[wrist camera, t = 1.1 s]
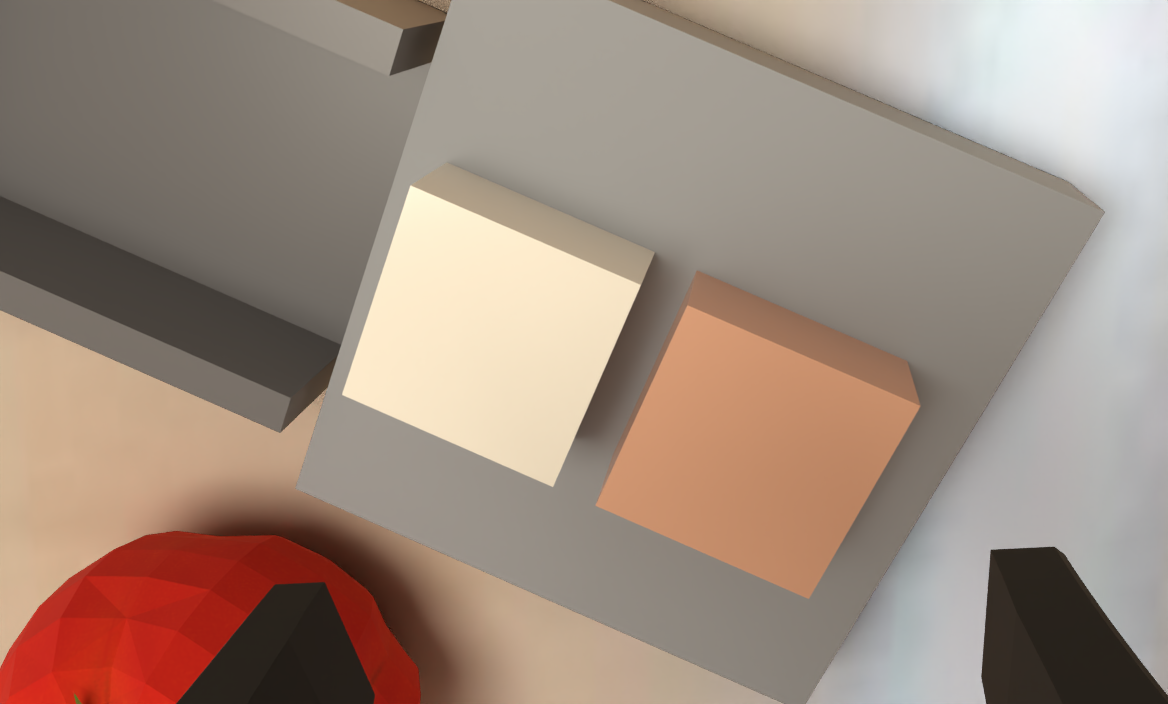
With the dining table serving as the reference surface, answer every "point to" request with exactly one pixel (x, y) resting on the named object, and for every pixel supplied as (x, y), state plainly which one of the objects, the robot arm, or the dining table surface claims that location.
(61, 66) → the box
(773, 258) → the slate board
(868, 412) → the tile terracotta
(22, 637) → the tomato
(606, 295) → the tile cream
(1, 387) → the dining table surface
